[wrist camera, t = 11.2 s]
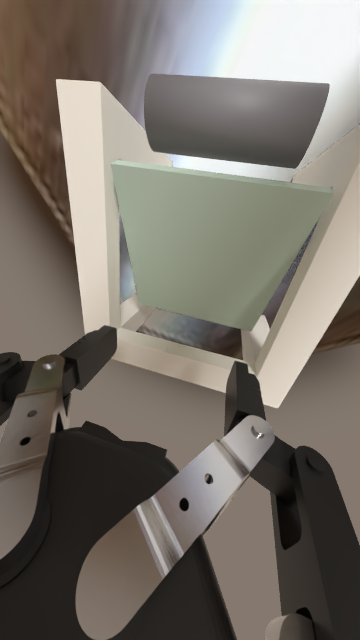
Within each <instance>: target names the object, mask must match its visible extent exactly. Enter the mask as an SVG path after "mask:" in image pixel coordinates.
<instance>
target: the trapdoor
mask: <svg viewBox="0 0 360 640" xmlns="http://www.w3.org/2000/svg"><path fill="white" fill-rule="evenodd" d="M328 92H329V84H326V83H308V82H290V81H273V80H255V79H237V78H219V77H202V76H184V75H166V74H151V75H150V76H149V78H148V80H147V84H146V89H145V98H144V118H145V128H146V134H147V139H148V143H149V145H150V148H151V149H152V151H154V152H159V153H168V154H176V155H184V156H193V157H201V158H210V159H218V160H226V161H235V162H243V163H252V164H260V165H268V166H277V167H285V168H293V169H295V168H296V167H297V166H298V165H299V163H300V162H301V160H302V158H303V157H304V155H305V153H306V151H307V149H308V147H309V145H310V142H311V140H312V138H313V136H314V133H315V131H316V128H317V126H318V123H319V121H320V118H321V115H322V113H323V110H324V107H325V103H326V100H327V97H328ZM111 168H112V173H113V178H114V183H115V188H116V193H117V198H118V203H119V208H120V213H121V218H122V222H123V227H124V232H125V237H126V242H127V247H128V252H129V257H130V262H131V267H132V272H133V277H134V282H135V287H136V291H137V296H138V301H139V304H141V305H145V306H149V307H153V308H157V309H161V310H165V311H169V312H173V313H177V314H181V315H185V316H189V317H194V318H198V319H202V320H206V321H210V322H214V323H218V324H222V325H226V326H230V327H234V328H238V329H242V330H247V331H252V330H253V328H254V326H255V325H256V323H257V321H258V320H259V318H260V316H261V315H262V313H263V311H264V310H265V308H266V306H267V305H268V303H269V301H270V300H271V298H272V296H273V295H274V293H275V291H276V290H277V288H278V286H279V285H280V283H281V281H282V280H283V278H284V276H285V275H286V273H287V271H288V270H289V268H290V266H291V265H292V263H293V261H294V260H295V258H296V256H297V255H298V253H299V251H300V249H301V248H302V246H303V244H304V243H305V241H306V239H307V238H308V236H309V234H310V233H311V231H312V229H313V228H314V226H315V224H316V223H317V221H318V219H319V218H320V216H321V214H322V213H323V211H324V209H325V208H326V206H327V204H328V203H329V201H330V199H331V198H332V196H333V194H334V193H333V191H332V189H331V188H330V187H322V186H314V185H306V184H299V183H291V182H283V181H276V180H268V179H260V178H252V177H245V176H237V175H229V174H222V173H214V172H206V171H199V170H191V169H183V168H175V167H168V166H160V165H152V164H145V163H137V162H129V161H121V160H117V161H115V162H113V163H111Z"/></svg>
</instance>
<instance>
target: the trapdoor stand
mask: <svg viewBox="0 0 360 640" xmlns="http://www.w3.org/2000/svg"><path fill="white" fill-rule="evenodd" d="M56 85H57V94H58V103H59V111H60V120H61V129H62V137H63V146H64V155H65V163H66V172H67V181H68V190H69V198H70V207H71V216H72V224H73V233H74V242H75V251H76V259H77V268H78V277H79V285H80V294H81V303H82V311H83V320H84V329H85V335H86V334H87V333H89V332H92V331H94V330H99V329H100V328H101V327H102V326H104V325H107V326H111V327H115V328H116V329H117V350H116V352H115V354H114V355H113V356H112V358H111V359H113V360H117V361H120V362H123V363H127V364H130V365H134V366H137V367H140V368H144V369H147V370H150V371H154V372H157V373H160V374H164V375H167V376H171V377H174V378H177V379H181V380H184V381H187V382H191V383H194V384H198V385H201V386H204V387H208V388H211V389H214V390H218V391H221V392H224V393H226V384H227V380H228V377H229V374H230V371H231V369H232V366H233V363H234V361H239V362H243V363H246V364H248V372H249V373H251V374H255V376H256V377H257V379H258V381H259V383H260V391H261V397H262V401H263V404H265V405H268V406H272V407H275V408H278V407H279V406H280V404H281V402H282V401H283V399H284V398H285V396H286V394H287V393H288V391H289V389H290V388H291V386H292V384H293V383H294V381H295V380H296V378H297V376H298V375H299V373H300V372H301V370H302V368H303V367H304V365H305V363H306V362H307V360H308V358H309V357H310V355H311V354H312V352H313V350H314V349H315V347H316V345H317V344H318V342H319V341H320V339H321V337H322V336H323V334H324V332H325V331H326V329H327V328H328V326H329V324H330V323H331V321H332V319H333V318H334V316H335V315H336V313H337V311H338V310H339V308H340V306H341V305H342V303H343V302H344V300H345V298H346V297H347V295H348V293H349V292H350V290H351V289H352V287H353V285H354V284H355V282H356V280H357V279H358V277H359V275H360V124H359V125H357V126H356V127H355V128H354V129H352V130H351V131H350V132H349V133H347V134H346V135H345V136H344V137H342V138H341V139H340V140H339V141H337V142H336V143H335V144H333V145H332V146H331V147H330V148H328V149H327V150H326V151H325V152H323V153H322V154H321V155H320V156H318V157H317V158H316V159H315V160H313V161H312V162H311V163H310V164H308V165H307V166H306V167H304V168H303V169H302V170H301V171H299V172H298V173H297V174H296V175H294V176H293V179H292V182H291V183H299V184H306V185H314V186H322V187H330V188H331V189H332V191H333V193H334V194H333V196H332V198H331V199H330V201H329V203H328V204H327V206H326V208H325V209H324V211H323V213H322V214H321V216H320V218H319V221H318V223H317V225H316V227H315V230H314V232H313V234H312V236H311V239H310V241H309V243H308V245H307V248H306V250H305V252H304V254H303V257H302V259H301V261H300V263H299V266H298V268H297V270H296V272H295V275H294V277H293V279H292V281H291V284H290V286H289V288H288V290H287V293H286V295H285V297H284V299H283V302H282V304H281V306H280V308H279V311H278V313H277V315H276V317H275V320H274V322H273V324H272V326H271V329H269V326H268V323H267V320H266V318H265V315H261V316H260V318H259V320H258V321H257V323H256V325H255V326H254V328H253V330H252V331H247V330H242V329H241V338H242V349H243V361H242V360H239V359H235V358H231V357H228V356H224V355H220V354H216V353H213V352H209V351H205V350H202V349H198V348H194V347H190V346H187V345H183V344H179V343H176V342H172V341H168V340H164V339H161V338H157V337H153V336H149V335H146V334H142V333H138V332H136V331H137V330H138V328H139V327H140V326H141V325H142V324H143V323H144V322H145V321H146V320H147V318H148V317H149V316H150V315H151V314H152V313H153V312H154V311H155V310H156V308H153V307H149V306H145V305H141V304H139V301H138V296H137V293H135V294H134V295H133V296H131V297H130V298H128V299H127V300H126V301H124V302H123V303H121V304H120V252H119V203H118V198H117V193H116V188H115V183H114V178H113V173H112V168H111V163H113V162H115V161H117V160H121V161H129V162H137V163H145V164H152V165H160V166H168V167H172V163H173V161H172V160H171V159H170V157H169V156H168V155H167V154H166V153H159V152H154V151H152V149H151V148H150V145H149V143H148V139H147V134H146V131H145V130H144V129H143V128H142V127H141V126H140V125H139V124H138V123H137V121H136V120H135V119H134V118H133V117H132V116H131V115H130V114H129V113H128V112H127V111H126V109H125V108H124V107H123V106H122V105H121V104H120V103H119V102H118V101H117V100H116V99H115V97H114V96H113V95H112V94H111V93H110V92H109V91H108V90H107V89H106V88H105V87H104V85H103V84H102V83H101V82H92V81H77V80H61V79H56Z"/></svg>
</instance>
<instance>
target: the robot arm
mask: <svg viewBox="0 0 360 640" xmlns="http://www.w3.org/2000/svg"><path fill="white" fill-rule="evenodd" d="M116 350H117V329H116V328H115V327H111V326H107V325H104V326H102V327H101V328H100V329H99V330H94V331H92V332H89V333H87V334H86V335H85V336H83V337H82V338H81V339H79V340H78V341H77V342H75V343H74V344H72V345H71V346H70V347H69V348H67V349H66V350H64V351H63V352H62V353H60V354H59V355H47V356H44V357H42V358H40V359H38V360H37V361H22V360H21V357H20V355H19V354H17V353H14V352H8V353H2V354H0V425H2V424H3V423H4V422H5V421H6V420H7V419H8V418H9V419H8V422H7V425H6V428H5V430H4V433H3V436H2V439H1V442H0V640H237V639H236V636H235V632H234V629H233V626H232V623H231V620H230V617H229V614H228V611H227V608H226V605H225V602H224V599H223V596H222V593H221V590H220V587H219V584H218V581H217V578H216V575H215V572H214V569H213V566H212V563H211V560H210V556H209V553H208V551H207V547H206V544H205V541H204V539H203V537H204V536H205V534H206V533H207V531H208V530H209V529H210V528H211V526H212V525H213V524H214V523H215V521H216V520H217V519H218V517H219V516H220V515H221V513H222V512H223V511H224V509H225V508H226V506H227V505H228V504H229V503H230V501H231V500H232V499H233V497H234V496H235V495H236V494H237V492H238V491H239V490H240V489H241V487H242V486H243V485H244V483H245V482H246V481H247V480H248V478H249V477H250V476H251V477H252V478H253V479H254V480H256V481H257V482H258V483H260V484H261V485H262V486H264V487H265V488H266V489H268V490H269V491H270V495H271V505H272V515H273V526H274V537H275V548H276V558H277V569H278V579H279V591H280V602H281V611H282V617H278V618H275V619H273V620H272V621H271V622H270V623H269V625H268V627H267V629H266V633H265V638H264V640H360V545H359V542H358V540H357V537H356V534H355V531H354V529H353V526H352V523H351V520H350V517H349V515H348V512H347V509H346V506H345V503H344V501H343V498H342V495H341V492H340V490H339V487H338V484H337V481H336V479H335V475H334V473H333V470H332V468H331V466H330V465H329V463H328V462H327V461H326V459H325V458H324V457H323V456H322V455H321V454H320V453H318V452H317V451H316V450H314V449H312V448H310V447H307V446H299V447H298V448H297V449H295V448H293V447H291V446H290V445H288V444H287V443H285V442H283V441H282V440H280V439H279V438H278V437H276V436H275V435H274V431H273V429H272V428H271V426H270V425H269V424H268V423H267V422H266V418H265V412H264V406H263V401H262V397H261V391H260V383H259V381H258V379H257V377H256V376H255V374H251V373H249V372H248V364H246V363H243V362H239V361H234V363H233V366H232V369H231V371H230V374H229V377H228V380H227V384H226V400H225V427H224V438H223V439H222V440H220V441H219V440H216V441H214V442H213V443H212V444H210V445H209V446H208V447H207V448H206V449H205V450H204V451H203V452H202V453H200V454H199V455H198V456H197V457H196V458H195V459H194V460H193V461H191V463H189V464H188V465H187V466H186V467H185V468H184V469H182V470H181V471H180V472H179V470H178V469H177V468H176V466H175V465H174V464H173V463H172V462H171V461H170V460H169V459H168V458H166V452H167V450H166V449H163V448H161V447H158V446H155V445H152V444H150V443H147V442H134V441H123V440H121V439H119V438H118V437H117V436H115V435H114V434H113V433H111V432H110V431H109V430H108V429H106V428H105V427H102V426H99V425H97V424H94V423H91V422H88V421H86V422H85V423H84V424H83V426H82V427H75V428H69V416H70V403H71V391H72V390H73V389H74V388H76V389H79V390H82V389H83V388H84V387H85V386H86V385H87V384H88V383H89V382H90V381H91V379H92V378H93V377H94V376H95V375H96V374H97V373H98V372H99V371H100V369H101V368H102V367H103V366H104V365H105V364H106V363H107V362H108V361H109V360H110V359H111V358H112V356H113V355H114V354H115V352H116Z"/></svg>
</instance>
